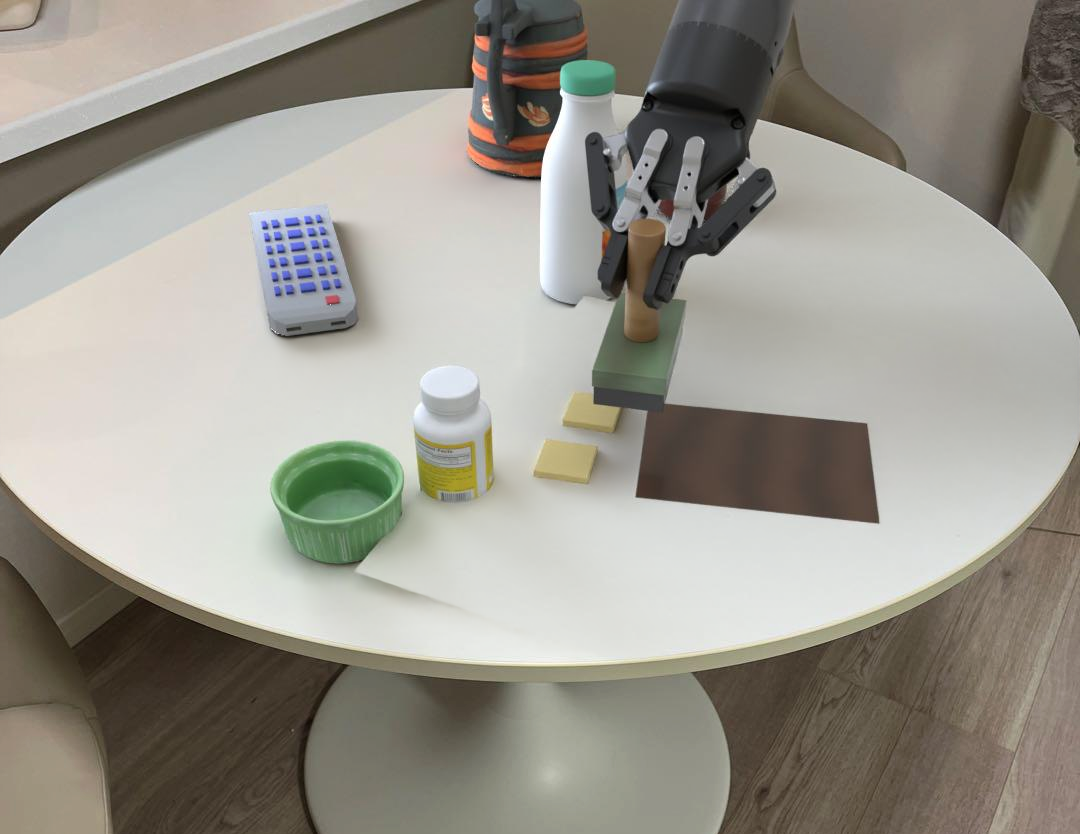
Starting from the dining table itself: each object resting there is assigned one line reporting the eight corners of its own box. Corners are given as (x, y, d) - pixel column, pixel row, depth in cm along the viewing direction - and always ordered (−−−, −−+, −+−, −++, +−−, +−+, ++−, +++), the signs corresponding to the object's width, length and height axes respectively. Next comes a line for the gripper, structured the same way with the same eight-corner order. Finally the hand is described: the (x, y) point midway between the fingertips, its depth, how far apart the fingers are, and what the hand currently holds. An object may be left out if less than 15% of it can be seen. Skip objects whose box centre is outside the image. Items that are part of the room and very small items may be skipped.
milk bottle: (575, 315, 96) (583, 88, 83) (523, 283, 101) (522, 64, 87) (637, 290, 100) (654, 69, 87) (584, 261, 104) (592, 46, 91)
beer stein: (570, 204, 114) (576, 3, 100) (440, 189, 116) (429, -9, 103) (603, 137, 127) (612, -47, 114) (486, 126, 130) (481, -56, 116)
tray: (863, 438, 83) (867, 422, 82) (875, 539, 74) (879, 523, 73) (647, 417, 85) (648, 401, 84) (633, 513, 76) (635, 496, 75)
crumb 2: (596, 467, 80) (597, 445, 78) (586, 500, 77) (587, 478, 76) (545, 459, 80) (545, 438, 79) (533, 491, 78) (533, 470, 76)
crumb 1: (621, 419, 84) (623, 398, 83) (612, 448, 82) (613, 427, 80) (572, 411, 85) (573, 391, 84) (561, 440, 82) (562, 419, 81)
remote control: (329, 221, 110) (327, 201, 109) (361, 329, 94) (359, 307, 93) (252, 230, 109) (248, 209, 107) (271, 341, 93) (267, 318, 91)
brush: (683, 335, 78) (696, 195, 71) (663, 415, 72) (674, 269, 64) (617, 327, 79) (622, 188, 72) (591, 405, 72) (593, 261, 65)
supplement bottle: (460, 461, 80) (454, 350, 74) (509, 494, 77) (507, 381, 71) (404, 492, 77) (393, 380, 71) (453, 528, 74) (446, 414, 68)
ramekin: (254, 548, 73) (242, 500, 70) (324, 474, 79) (317, 426, 76) (367, 586, 70) (360, 537, 67) (431, 506, 76) (427, 458, 73)
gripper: (609, 1, 68) (517, 254, 68) (819, 35, 63) (718, 308, 63) (639, 63, 75) (555, 293, 75) (829, 98, 70) (739, 343, 70)
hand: (630, 298), depth 69 cm, fingers closed on brush, 2 cm apart
